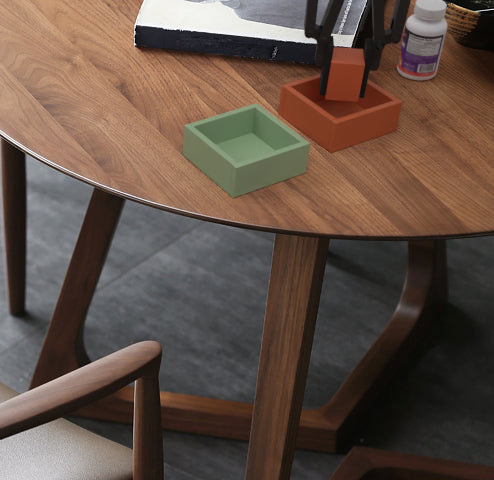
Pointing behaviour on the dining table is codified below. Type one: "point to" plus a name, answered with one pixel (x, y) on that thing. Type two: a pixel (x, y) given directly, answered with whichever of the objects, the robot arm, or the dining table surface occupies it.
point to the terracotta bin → (338, 114)
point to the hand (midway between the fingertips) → (341, 90)
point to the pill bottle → (423, 40)
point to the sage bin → (245, 149)
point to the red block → (345, 74)
